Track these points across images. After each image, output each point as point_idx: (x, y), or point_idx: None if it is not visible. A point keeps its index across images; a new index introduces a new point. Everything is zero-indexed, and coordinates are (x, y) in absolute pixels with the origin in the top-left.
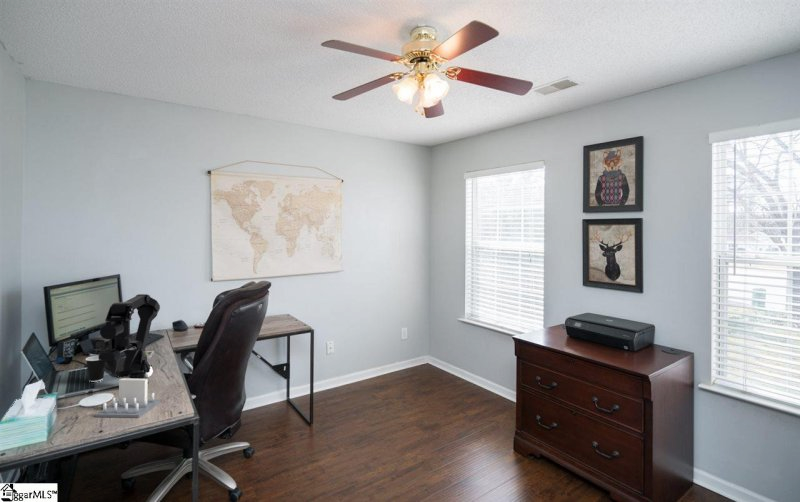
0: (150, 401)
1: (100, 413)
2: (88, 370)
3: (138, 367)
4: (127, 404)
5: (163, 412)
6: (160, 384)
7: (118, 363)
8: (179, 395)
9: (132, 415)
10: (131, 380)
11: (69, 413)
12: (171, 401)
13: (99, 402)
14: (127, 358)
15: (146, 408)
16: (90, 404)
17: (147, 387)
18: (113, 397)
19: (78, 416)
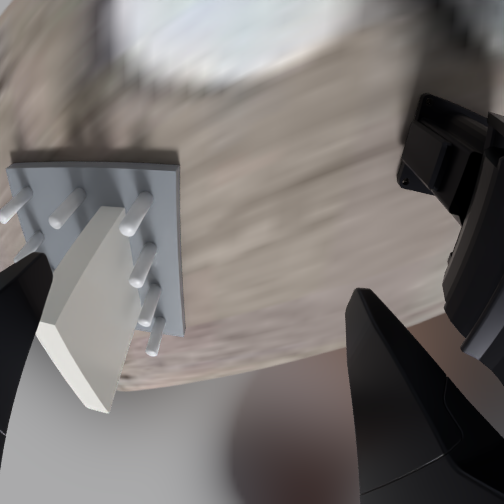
0: (162, 313)
1: (15, 183)
2: None
3: (448, 285)
4: None
5: None
6: (428, 258)
7: (5, 417)
8: (258, 358)
9: None
10: (60, 369)
11: (27, 10)
12: (198, 352)
13: (165, 40)
14: (398, 401)
15: None
16: (134, 10)
17: (120, 372)
18: (56, 217)
19: (5, 83)
